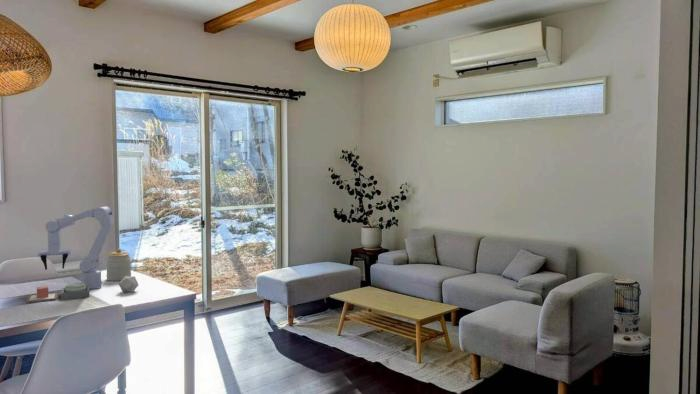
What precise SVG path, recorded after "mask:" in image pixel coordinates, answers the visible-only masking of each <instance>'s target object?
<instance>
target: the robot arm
mask: <svg viewBox="0 0 700 394" xmlns="http://www.w3.org/2000/svg"><path fill="white" fill-rule="evenodd" d="M113 215H114V213H113V210H112V208H110V207H109V206H107V205H105V206H99V207H95V208H90V209H87V210H84V211H82V212H79V213H76V214H74V215H71V214H63V216H62V217H56V218H55V219H54V220H49V221H48V222H46V223H45V230H46V231H47V251H38V252H37V256H38V257H39V258H40V260H41V261H42V263H43V265H44V269H45V271H47V270H48V264H47V263H48V262H47V261H48V259H47V257H48V256H60V255H62V268H61V269H65V264H66V261H67V259H68V257H69V255H71V250H70V249H69V250H62V248H61V247H62V245H61V230H62V229H65V228H68V227H71V226H74V225H75V224H76V222H78V221H80V220H83V219H87V218H95V219H96V220H97V221H98V222H99V224H100V229H99V231H98V232H97V235H96V237H95V238H94V242H93V243H92V246H91V248H90V249H89V252H88V253H87V254H86V255H85V257H84V259H83V260H81V262H80V263H79V265H78V267H79V269H80V270H81V283H85V285H86V286H89V290H92V289H100V288H101V289H102V283H103V281H102V271H101V270H98V269H97V267H98V266H99V261H100V254H101V252H102V250H103V249H104V246H105V244H106V242H107V240H108V239H109V236H110V234H111V232H112V230H113V228H114V218H113V217H114V216H113Z"/></svg>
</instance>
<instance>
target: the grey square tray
mask: <svg viewBox="0 0 700 394" xmlns="http://www.w3.org/2000/svg"><path fill="white" fill-rule="evenodd" d="M89 297H90V289H89V286H86V291H77V292H66V293H65V287H62V288H61V292H60V300H72V299H80V298H89Z"/></svg>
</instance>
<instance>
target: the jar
mask: <svg viewBox="0 0 700 394" xmlns="http://www.w3.org/2000/svg"><path fill="white" fill-rule="evenodd" d="M131 259H132V257H131V256H130V253H129V252H127V251H122V249H121V248H117V249H116V250H115V251H111V252H110V253H108V254H107V258H106V263H107V264H106V280H107V281H110V282H115V281H117V282H118V281H119V282H121V280H122V279H123V278H124V277H125V276H132V262H131Z"/></svg>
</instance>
